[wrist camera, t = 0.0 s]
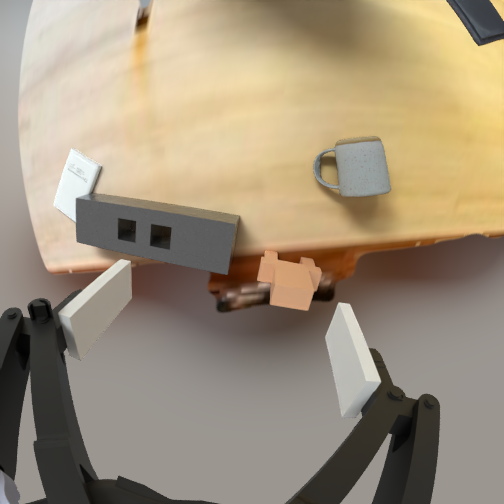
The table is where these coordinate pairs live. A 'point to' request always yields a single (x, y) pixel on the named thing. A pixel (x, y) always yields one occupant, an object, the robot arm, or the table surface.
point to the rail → (158, 231)
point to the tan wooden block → (289, 280)
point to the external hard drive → (76, 182)
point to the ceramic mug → (358, 167)
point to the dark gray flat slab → (479, 19)
